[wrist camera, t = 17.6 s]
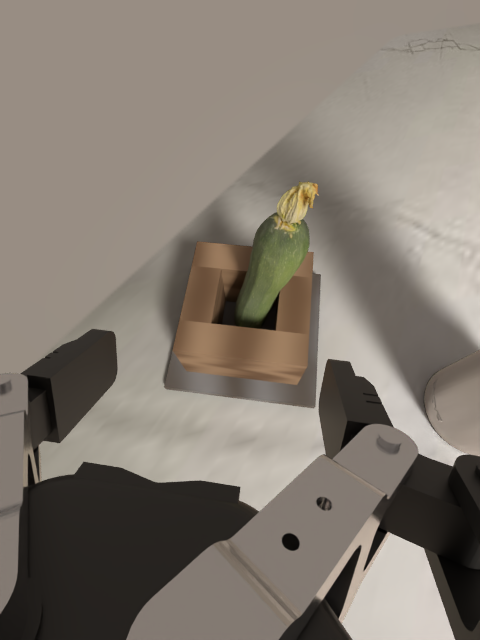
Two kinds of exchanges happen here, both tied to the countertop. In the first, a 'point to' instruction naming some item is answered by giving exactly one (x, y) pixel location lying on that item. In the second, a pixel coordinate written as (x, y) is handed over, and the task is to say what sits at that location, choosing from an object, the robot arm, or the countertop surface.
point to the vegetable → (275, 255)
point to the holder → (245, 333)
